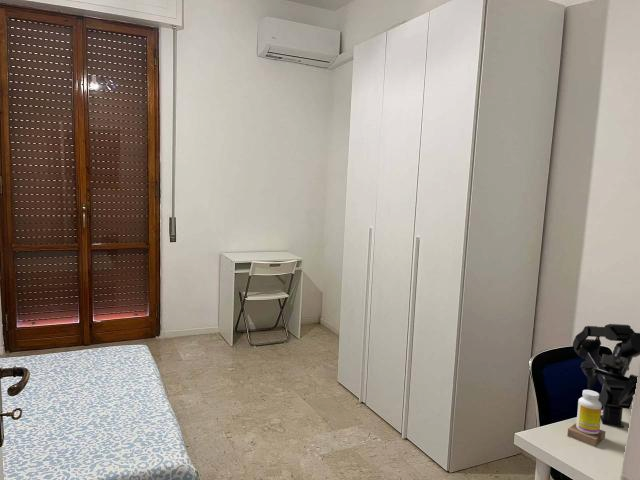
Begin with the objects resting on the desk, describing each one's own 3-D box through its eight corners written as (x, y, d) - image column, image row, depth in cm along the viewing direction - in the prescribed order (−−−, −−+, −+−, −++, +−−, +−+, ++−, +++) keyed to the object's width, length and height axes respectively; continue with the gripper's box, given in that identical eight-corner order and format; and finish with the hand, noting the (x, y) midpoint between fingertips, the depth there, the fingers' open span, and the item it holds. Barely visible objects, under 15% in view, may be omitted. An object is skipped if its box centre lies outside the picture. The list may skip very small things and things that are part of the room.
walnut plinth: (577, 428, 158) (578, 421, 158) (604, 438, 152) (605, 431, 152) (567, 436, 153) (567, 428, 153) (595, 447, 147) (595, 439, 146)
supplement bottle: (602, 436, 148) (606, 398, 147) (580, 433, 150) (583, 395, 148) (594, 426, 155) (598, 389, 154) (573, 424, 156) (576, 387, 155)
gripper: (585, 337, 160) (566, 375, 155) (647, 353, 145) (629, 395, 140) (593, 355, 166) (576, 392, 160) (654, 372, 151) (637, 414, 145)
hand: (603, 397), depth 151 cm, fingers open, 9 cm apart
